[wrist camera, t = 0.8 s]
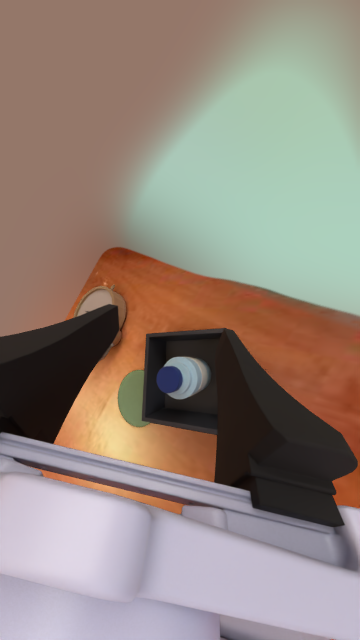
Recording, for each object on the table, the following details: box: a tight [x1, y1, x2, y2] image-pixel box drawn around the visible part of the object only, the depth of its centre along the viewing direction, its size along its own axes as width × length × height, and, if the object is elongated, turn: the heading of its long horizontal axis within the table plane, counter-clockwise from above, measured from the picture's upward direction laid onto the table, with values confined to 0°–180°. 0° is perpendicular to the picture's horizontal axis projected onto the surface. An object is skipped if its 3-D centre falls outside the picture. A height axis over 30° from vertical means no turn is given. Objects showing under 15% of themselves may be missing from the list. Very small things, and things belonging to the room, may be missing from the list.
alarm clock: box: [73, 285, 126, 361], centre depth 33 cm, size 11×5×15 cm
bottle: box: [157, 357, 211, 399], centre depth 21 cm, size 5×5×9 cm
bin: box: [142, 328, 226, 435], centre depth 22 cm, size 11×11×5 cm
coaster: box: [118, 370, 150, 427], centre depth 28 cm, size 9×9×1 cm
